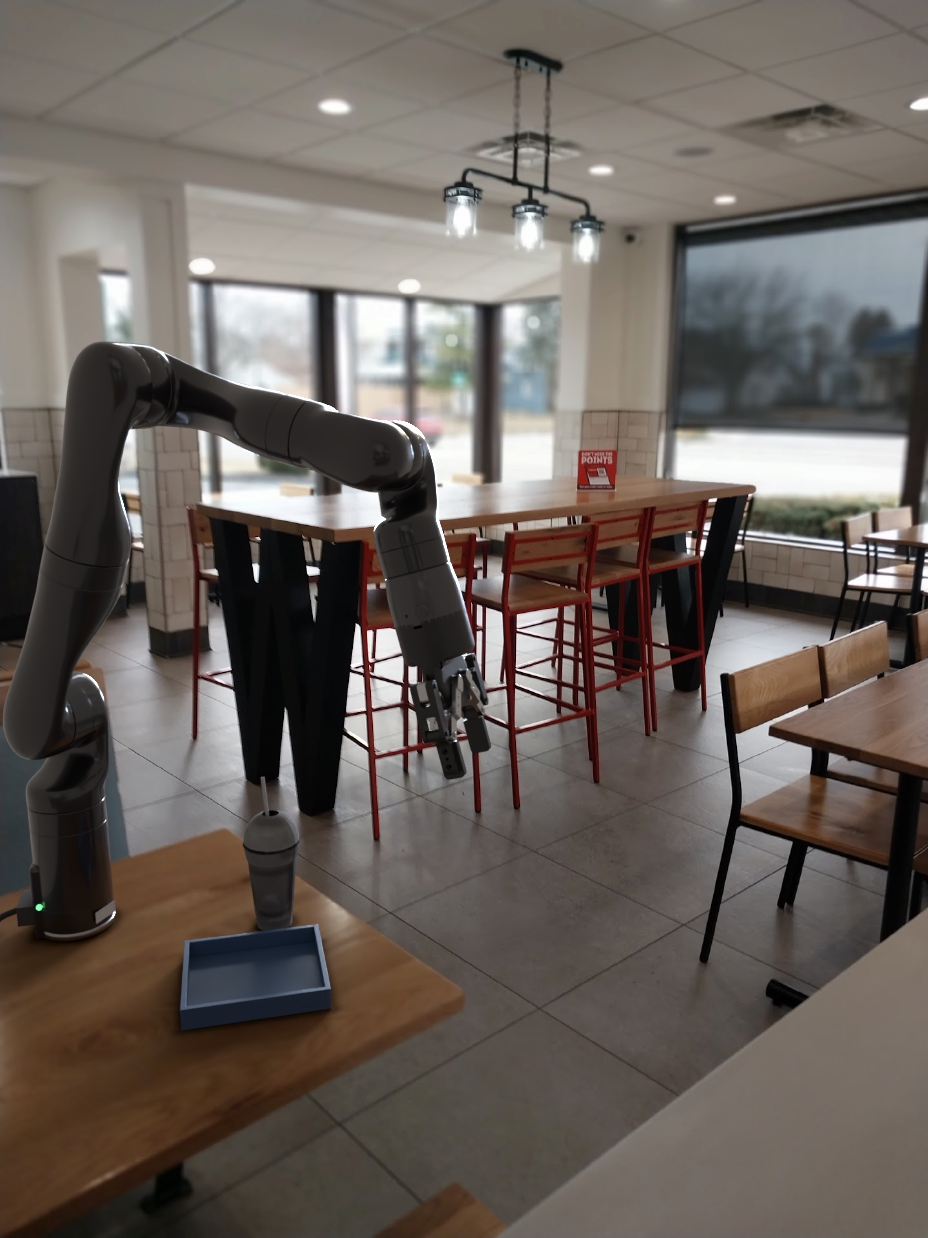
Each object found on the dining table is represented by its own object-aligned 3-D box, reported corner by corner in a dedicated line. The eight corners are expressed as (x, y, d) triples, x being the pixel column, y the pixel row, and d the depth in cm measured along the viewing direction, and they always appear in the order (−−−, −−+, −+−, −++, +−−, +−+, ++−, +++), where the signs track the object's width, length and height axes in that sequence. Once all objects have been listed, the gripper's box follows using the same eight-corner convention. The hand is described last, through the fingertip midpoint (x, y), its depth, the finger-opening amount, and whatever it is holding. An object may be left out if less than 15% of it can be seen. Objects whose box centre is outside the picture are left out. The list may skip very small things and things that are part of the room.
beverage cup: (272, 944, 119) (266, 795, 115) (234, 925, 123) (227, 781, 119) (314, 920, 125) (310, 777, 121) (277, 903, 129) (271, 764, 125)
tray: (181, 1031, 102) (179, 1010, 102) (185, 959, 116) (184, 940, 115) (331, 1009, 106) (330, 989, 106) (318, 942, 120) (318, 924, 119)
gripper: (421, 610, 105) (458, 749, 106) (368, 634, 91) (412, 793, 93) (483, 595, 102) (521, 738, 104) (438, 617, 89) (482, 781, 90)
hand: (469, 764), depth 98 cm, fingers open, 8 cm apart
